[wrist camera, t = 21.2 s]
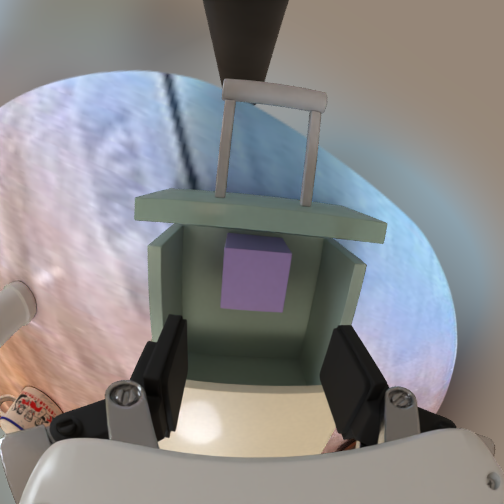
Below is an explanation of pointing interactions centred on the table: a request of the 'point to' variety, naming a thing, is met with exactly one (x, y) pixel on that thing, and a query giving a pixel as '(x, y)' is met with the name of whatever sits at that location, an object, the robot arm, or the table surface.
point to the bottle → (15, 309)
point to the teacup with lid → (28, 410)
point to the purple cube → (255, 273)
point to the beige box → (251, 420)
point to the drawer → (262, 224)
